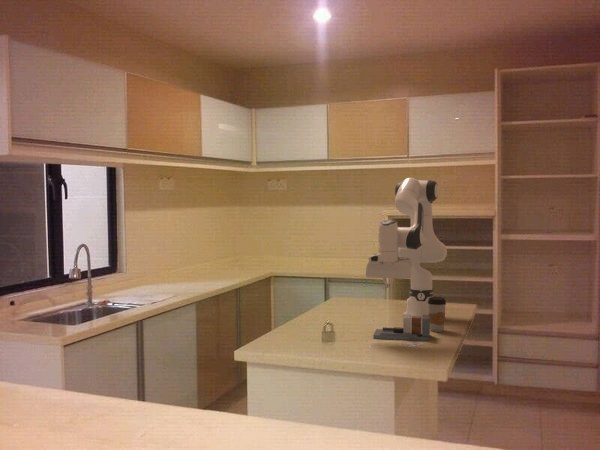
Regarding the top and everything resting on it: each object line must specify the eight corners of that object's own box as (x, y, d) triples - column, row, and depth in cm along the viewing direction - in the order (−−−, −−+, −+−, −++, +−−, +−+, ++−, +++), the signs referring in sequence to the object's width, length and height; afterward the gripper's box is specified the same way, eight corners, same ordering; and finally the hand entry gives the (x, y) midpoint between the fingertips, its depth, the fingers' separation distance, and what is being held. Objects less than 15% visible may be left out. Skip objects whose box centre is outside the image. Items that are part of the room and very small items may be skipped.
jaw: (394, 330, 263) (394, 313, 263) (412, 330, 261) (412, 314, 261) (393, 334, 255) (392, 317, 255) (411, 335, 253) (411, 318, 253)
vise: (376, 332, 267) (376, 312, 267) (429, 334, 261) (429, 314, 261) (373, 338, 255) (373, 317, 255) (429, 341, 250) (429, 319, 249)
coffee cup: (433, 332, 265) (433, 300, 264) (424, 329, 273) (424, 297, 272) (449, 331, 267) (449, 299, 266) (440, 327, 275) (440, 296, 274)
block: (412, 332, 259) (412, 315, 259) (421, 333, 258) (421, 316, 258) (411, 334, 255) (411, 317, 255) (421, 335, 254) (421, 318, 254)
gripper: (412, 256, 259) (412, 287, 259) (366, 255, 263) (367, 286, 264) (412, 258, 253) (412, 289, 253) (365, 257, 257) (365, 288, 258)
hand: (388, 287), depth 259 cm, fingers closed
